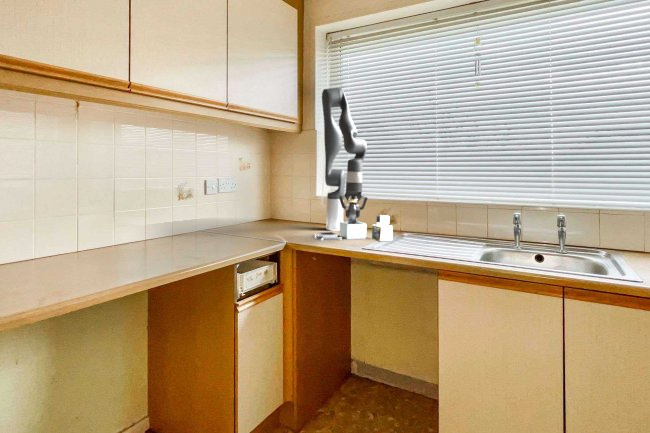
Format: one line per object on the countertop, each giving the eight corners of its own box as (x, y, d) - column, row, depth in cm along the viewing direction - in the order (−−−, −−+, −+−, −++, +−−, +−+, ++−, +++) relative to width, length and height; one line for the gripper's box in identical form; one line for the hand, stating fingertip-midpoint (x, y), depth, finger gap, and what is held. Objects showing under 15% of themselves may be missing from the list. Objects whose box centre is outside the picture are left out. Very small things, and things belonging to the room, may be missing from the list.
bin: (339, 238, 185) (339, 221, 184) (357, 237, 189) (358, 221, 188) (346, 241, 177) (347, 224, 176) (366, 240, 181) (366, 224, 180)
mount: (310, 238, 182) (311, 231, 181) (334, 237, 186) (334, 231, 186) (319, 243, 171) (319, 236, 170) (344, 242, 175) (344, 235, 174)
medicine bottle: (371, 239, 186) (372, 214, 185) (383, 238, 189) (384, 214, 188) (380, 241, 180) (381, 216, 179) (392, 240, 183) (393, 216, 182)
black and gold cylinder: (346, 225, 180) (347, 198, 179) (347, 224, 184) (349, 198, 183) (356, 226, 179) (357, 199, 178) (357, 225, 183) (359, 198, 182)
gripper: (338, 181, 177) (336, 217, 179) (368, 182, 175) (367, 219, 177) (340, 181, 185) (338, 216, 186) (369, 182, 182) (368, 218, 184)
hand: (352, 217), depth 181 cm, fingers closed on black and gold cylinder, 4 cm apart
